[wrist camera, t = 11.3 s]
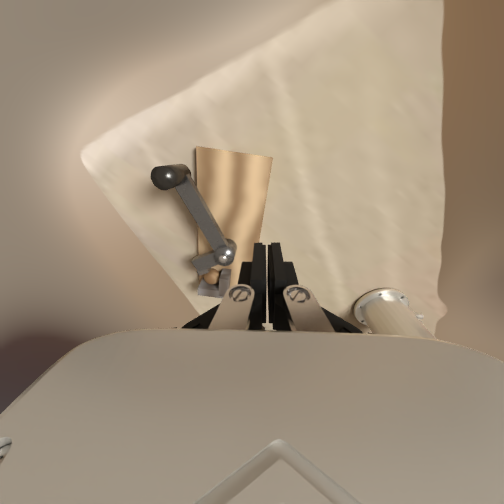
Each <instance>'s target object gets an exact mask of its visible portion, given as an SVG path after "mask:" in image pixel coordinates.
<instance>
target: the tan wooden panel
mask: <svg viewBox="0 0 504 504" xmlns="http://www.w3.org/2000/svg"><path fill="white" fill-rule="evenodd" d="M272 160H273V158H272V157H265V156H258V155H252V154H245V153H238V152H231V151H225V150H218V149H211V148H204V147H197V146H196V161H197V188H198V190H199V192H200V194H201V195H202V197H203V199H204V201H205V203H206V204H207V206H208V208H209V210H210V212H211V213H212V215H213V217H214V219H215V220H216V222H217V224H218V226H219V228H220V229H221V231H222V233H223V235H224V237H225V238H226V239H231V240H233V241H234V242H235V243H236V245H237V250H236V254H235V257H234V261H233V263H232V264H231V265H229V266H221V265H216V266H213V267H211V268H213V269H216V270H217V271H218V272H219V273H220V278H219V281H218V282H217V283H215V284H208V283H207V282H206V281H205V280H204V274H203V275H200V276H199V287H198V295H202V296H209V297H217V298H223V297H224V295H225V293H226V291H227V290H228V289H229V288H230V287H232V286H234V285H237V284H238V279H239V274H240V269H241V264H242V262H252V259H253V249H254V243H259V239H260V233H261V227H262V220H263V214H264V208H265V202H266V196H267V190H268V184H269V178H270V172H271V166H272ZM212 250H213V249H212V247H211V245H210V244H209V242H208V240H207V239H206V237H205V236H204V234H203V232H202V231H201V229H200V227H199V226H198V256H199V255H202V254H204V253H207V252H209V251H212Z"/></svg>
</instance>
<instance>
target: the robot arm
mask: <svg viewBox="0 0 504 504" xmlns="http://www.w3.org/2000/svg"><path fill="white" fill-rule="evenodd" d="M267 282H268V310H269V323H273V330H277V331H269V330H260V329H262V323H266V245H262V243H254V249H253V259H252V262H242V264H241V269H240V274H239V279H238V284H237V285H234V286H232V287H230V288H229V289H228V290H227V291H226V293H225V295H224V297H223V299H222V301H221V303H220V304H219V305H217V306H215V307H214V308H212V309H210V310H209V311H207V312H205V313H204V314H202V315H200V316H198V317H197V318H195V319H194V320H192V321H190V322H188V323H187V324H186V325H184V326H183V327H182V328H180V329H179V328H177V327H174V328H158V329H135V330H126V331H120V332H115V333H111V334H108V335H104V336H100V337H98V338H95V339H92V340H90V341H87V342H85V343H83V344H81V345H79V346H77V347H75V348H74V349H72V350H71V351H70V352H68V353H67V354H65V356H63V357H62V358H60V359H59V360H58V361H57V362H56V363H54V364H53V365H52V366H51V367H50V368H49V369H48V370H46V371H45V372H44V373H43V374H42V375H41V376H40V377H39V378H38V379H37V380H36V381H34V382H33V383H32V384H31V385H30V386H29V387H28V388H27V389H26V390H25V391H24V392H23V393H22V394H21V395H20V396H19V397H18V398H17V399H16V400H15V401H14V402H13V403H12V404H11V405H10V406H9V407H8V408H7V409H6V410H5V411H4V412H3V413H2V414H0V504H504V362H502V361H500V360H498V359H496V358H494V357H491V356H489V355H487V354H485V353H482V352H479V351H476V350H474V349H470V348H467V347H464V346H461V345H457V344H454V343H450V342H446V341H441V340H437V339H436V338H435V337H434V335H433V334H432V333H431V332H430V331H429V330H428V329H427V328H426V327H425V326H424V325H423V322H422V321H421V320H418V319H423V314H421V313H414V312H413V311H412V310H411V309H410V308H409V300H408V298H407V297H406V296H405V295H404V294H403V293H402V292H401V291H399V290H396V289H391V288H383V289H377V290H374V291H371V292H369V293H367V294H365V295H364V296H362V297H361V298H360V299H359V300H358V301H357V303H356V304H355V306H354V315H355V317H356V319H357V320H358V321H359V322H360V323H362V324H364V325H367V326H369V328H370V330H371V331H372V333H369V332H368V334H364V333H363V332H362V331H360V330H359V329H358V328H356V327H355V326H353V325H351V324H349V323H348V322H346V321H344V320H343V319H341V318H339V317H338V316H336V315H334V314H333V313H331V312H329V311H327V310H326V309H324V308H322V307H321V306H320V305H319V303H318V301H317V300H316V298H315V296H314V294H313V293H312V292H311V290H309V289H308V288H306V287H304V286H301V285H299V284H298V280H297V276H296V273H295V269H294V266H293V262H283V257H282V252H281V247H280V243H271V245H268V277H267Z"/></svg>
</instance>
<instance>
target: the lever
mask: <svg viewBox="0 0 504 504" xmlns="http://www.w3.org/2000/svg"><path fill="white" fill-rule="evenodd" d="M151 180H152V182H153V184H154V185H155V186H156V187H157V188H159V189H161V190H168V189H171V188H174V187H175V188H176V190H177V192H178V193H179V195H180V196H181V198H182V200H183V201H184V203H185V205H186V206H187V208H188V209H189V211H190V213H191V214H192V216H193V218H194V219H195V221H196V222H197V224H198V226H199V227H200V229H201V231H202V232H203V234H204V236H205V237H206V239H207V240H208V242H209V244H210V245H211V247H212V249H213V250H212V251H209V252H207V253H204V254H202V255H199V256H197V257H194V258H193V259H192V261H191V262H192V263H193V265H194V266H195V268H196V269H197V273H198V274H199V276H200V275H203V274H206V273H208V272H209V271H210V269H211V267H213V266H216V265H221V266H229V265H231V264H232V263H233V261H234V257H235V254H236V250H237V245H236V243H235V242H234V241H233V240H231V239H226V238H225V237H224V235H223V233H222V231H221V229H220V228H219V226H218V224H217V222H216V220H215V219H214V217H213V215H212V213H211V212H210V210H209V208H208V206H207V204H206V203H205V201H204V199H203V197H202V195H201V194H200V192H199V190H198V188H197V187H196V185H195V183H194V181H193V179H192V178H191V172H190V170H189V168H188V167H187V166H186V165H183V164H176V165H167V166H158V167H155V168H154V169H153V170H152V172H151Z"/></svg>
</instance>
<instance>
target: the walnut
mask: <svg viewBox="0 0 504 504" xmlns="http://www.w3.org/2000/svg"><path fill="white" fill-rule="evenodd" d="M219 278H220V273H219V272H218V271H217V270H216V269H213V268H211V269H210V271H209V272H208V273H206V274H204V280H205V281H206V282H207V283H208V284H215V283H217V282H218V281H219Z"/></svg>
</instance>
